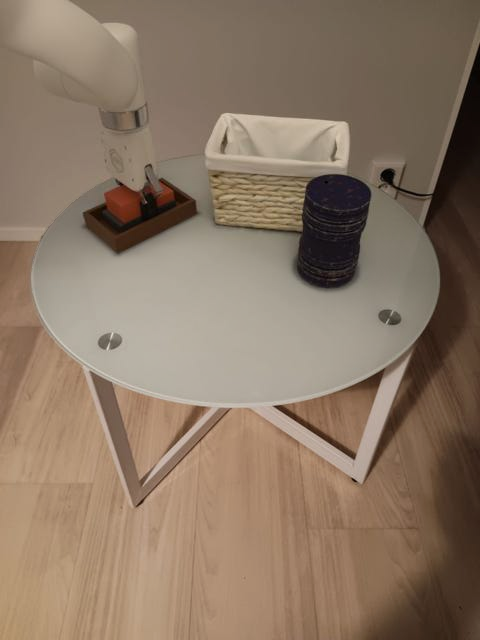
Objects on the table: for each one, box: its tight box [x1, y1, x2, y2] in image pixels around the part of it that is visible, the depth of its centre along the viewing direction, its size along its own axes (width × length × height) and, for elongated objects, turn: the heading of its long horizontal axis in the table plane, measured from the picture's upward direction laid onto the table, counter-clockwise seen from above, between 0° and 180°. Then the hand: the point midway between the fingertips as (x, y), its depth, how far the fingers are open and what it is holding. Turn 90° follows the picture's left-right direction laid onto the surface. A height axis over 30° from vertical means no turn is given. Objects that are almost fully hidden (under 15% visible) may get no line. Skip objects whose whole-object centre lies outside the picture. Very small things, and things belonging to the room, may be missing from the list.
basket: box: [203, 112, 351, 233], centre depth 92 cm, size 24×16×15 cm
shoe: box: [102, 181, 176, 233], centre depth 92 cm, size 12×6×5 cm, turn 132°
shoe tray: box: [82, 177, 198, 254], centre depth 94 cm, size 18×11×3 cm, turn 132°
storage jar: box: [296, 174, 373, 289], centre depth 80 cm, size 10×10×15 cm
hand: (139, 210), depth 93 cm, fingers closed on shoe, 6 cm apart
